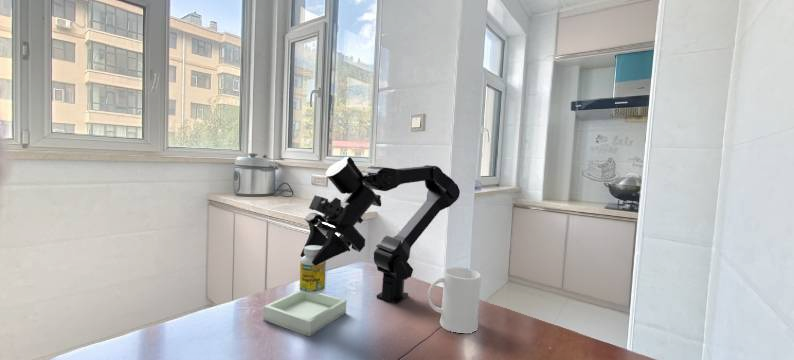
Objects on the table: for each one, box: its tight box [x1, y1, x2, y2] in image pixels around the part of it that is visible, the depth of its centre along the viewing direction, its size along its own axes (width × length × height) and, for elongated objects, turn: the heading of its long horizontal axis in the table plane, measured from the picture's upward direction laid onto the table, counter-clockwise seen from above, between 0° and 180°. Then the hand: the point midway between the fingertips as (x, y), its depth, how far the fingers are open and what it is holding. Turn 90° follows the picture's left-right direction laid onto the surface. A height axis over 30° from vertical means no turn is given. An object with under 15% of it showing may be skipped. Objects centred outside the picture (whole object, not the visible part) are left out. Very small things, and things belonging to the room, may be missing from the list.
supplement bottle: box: [299, 245, 327, 295], centre depth 74 cm, size 5×5×10 cm
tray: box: [263, 289, 347, 337], centre depth 75 cm, size 13×13×3 cm
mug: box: [427, 266, 482, 334], centre depth 76 cm, size 12×8×12 cm
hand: (307, 260), depth 73 cm, fingers closed on supplement bottle, 5 cm apart
